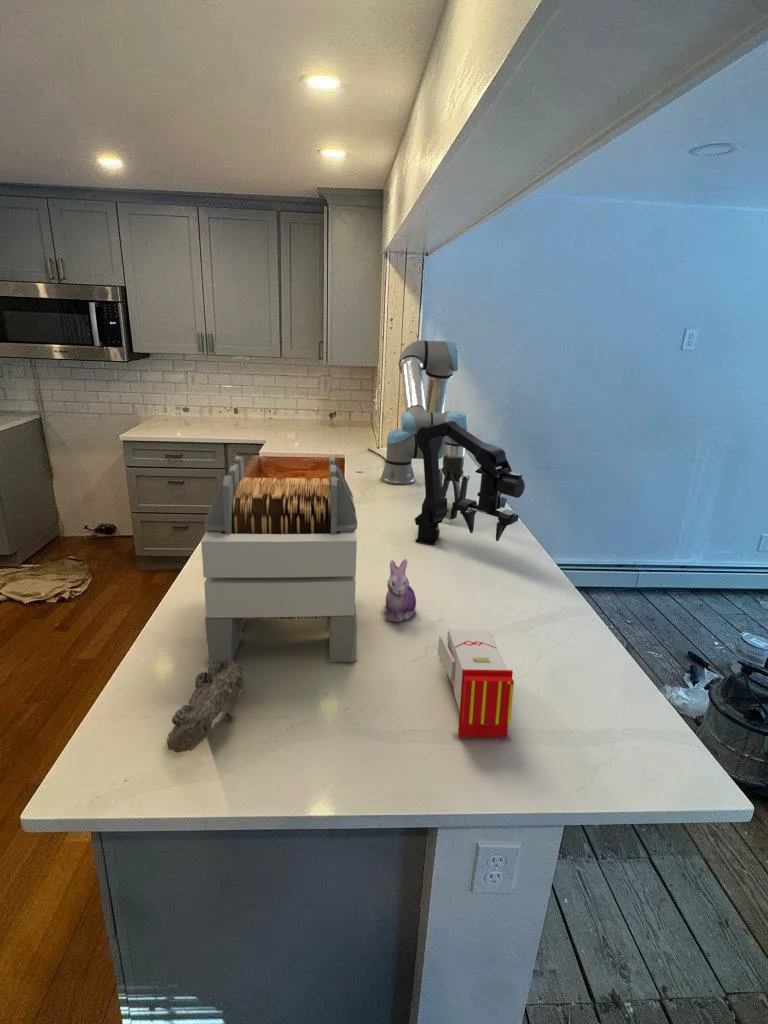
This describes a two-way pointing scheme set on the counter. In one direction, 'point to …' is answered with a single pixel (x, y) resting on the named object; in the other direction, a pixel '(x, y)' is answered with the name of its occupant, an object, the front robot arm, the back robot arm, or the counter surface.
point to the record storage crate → (280, 557)
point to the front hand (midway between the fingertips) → (484, 536)
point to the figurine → (399, 594)
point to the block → (449, 511)
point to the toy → (478, 682)
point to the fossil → (206, 705)
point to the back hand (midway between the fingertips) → (448, 516)
